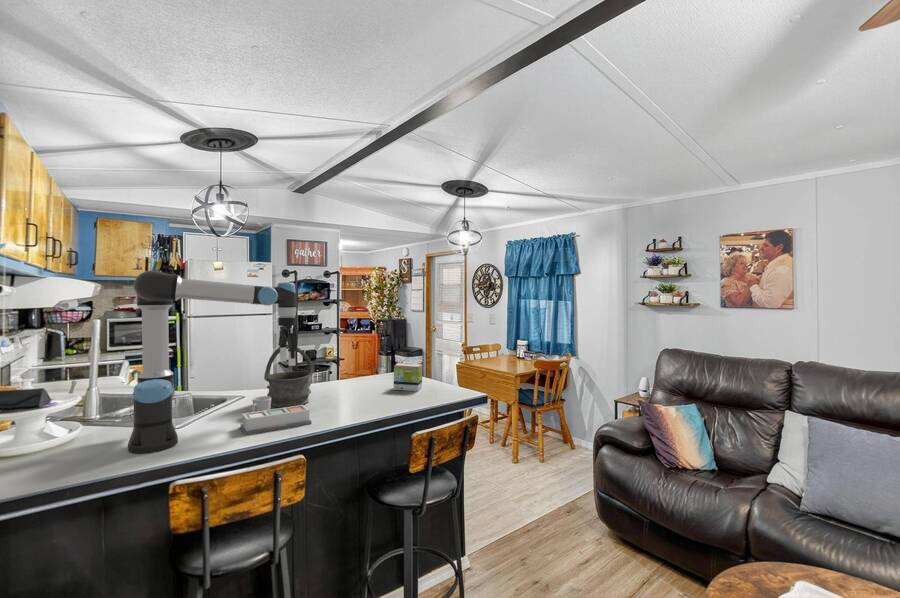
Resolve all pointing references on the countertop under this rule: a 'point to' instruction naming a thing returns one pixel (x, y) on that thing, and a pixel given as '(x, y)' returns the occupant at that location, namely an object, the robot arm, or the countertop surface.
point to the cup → (261, 403)
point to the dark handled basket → (288, 384)
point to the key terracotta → (294, 409)
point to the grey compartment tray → (275, 420)
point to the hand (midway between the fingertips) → (287, 363)
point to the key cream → (255, 415)
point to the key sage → (276, 412)
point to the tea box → (408, 376)
